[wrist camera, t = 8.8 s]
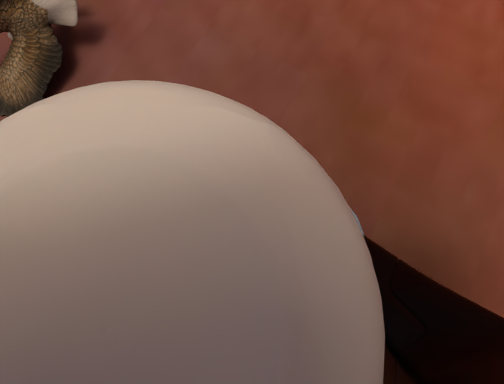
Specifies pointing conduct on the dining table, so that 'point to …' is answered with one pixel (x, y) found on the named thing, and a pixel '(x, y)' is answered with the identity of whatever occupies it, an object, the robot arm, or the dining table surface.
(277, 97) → the dining table surface
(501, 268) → the dining table surface
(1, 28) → the eagle figurine
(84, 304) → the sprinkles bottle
